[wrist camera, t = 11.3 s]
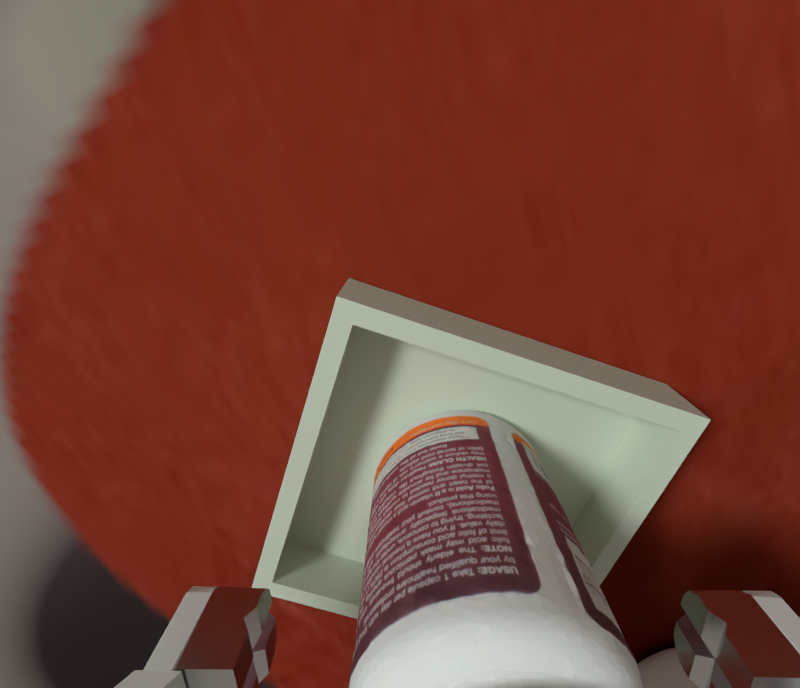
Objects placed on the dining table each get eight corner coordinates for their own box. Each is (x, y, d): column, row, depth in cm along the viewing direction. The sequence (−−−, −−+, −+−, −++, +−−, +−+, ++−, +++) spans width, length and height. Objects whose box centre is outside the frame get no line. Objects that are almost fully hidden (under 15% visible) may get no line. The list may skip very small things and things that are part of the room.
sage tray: (666, 384, 12) (711, 419, 10) (528, 610, 15) (544, 669, 13) (348, 277, 11) (336, 296, 9) (270, 539, 14) (251, 590, 12)
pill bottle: (353, 515, 13) (268, 999, 5) (409, 381, 12) (404, 789, 4) (497, 561, 14) (612, 1068, 6) (570, 438, 12) (858, 904, 4)
